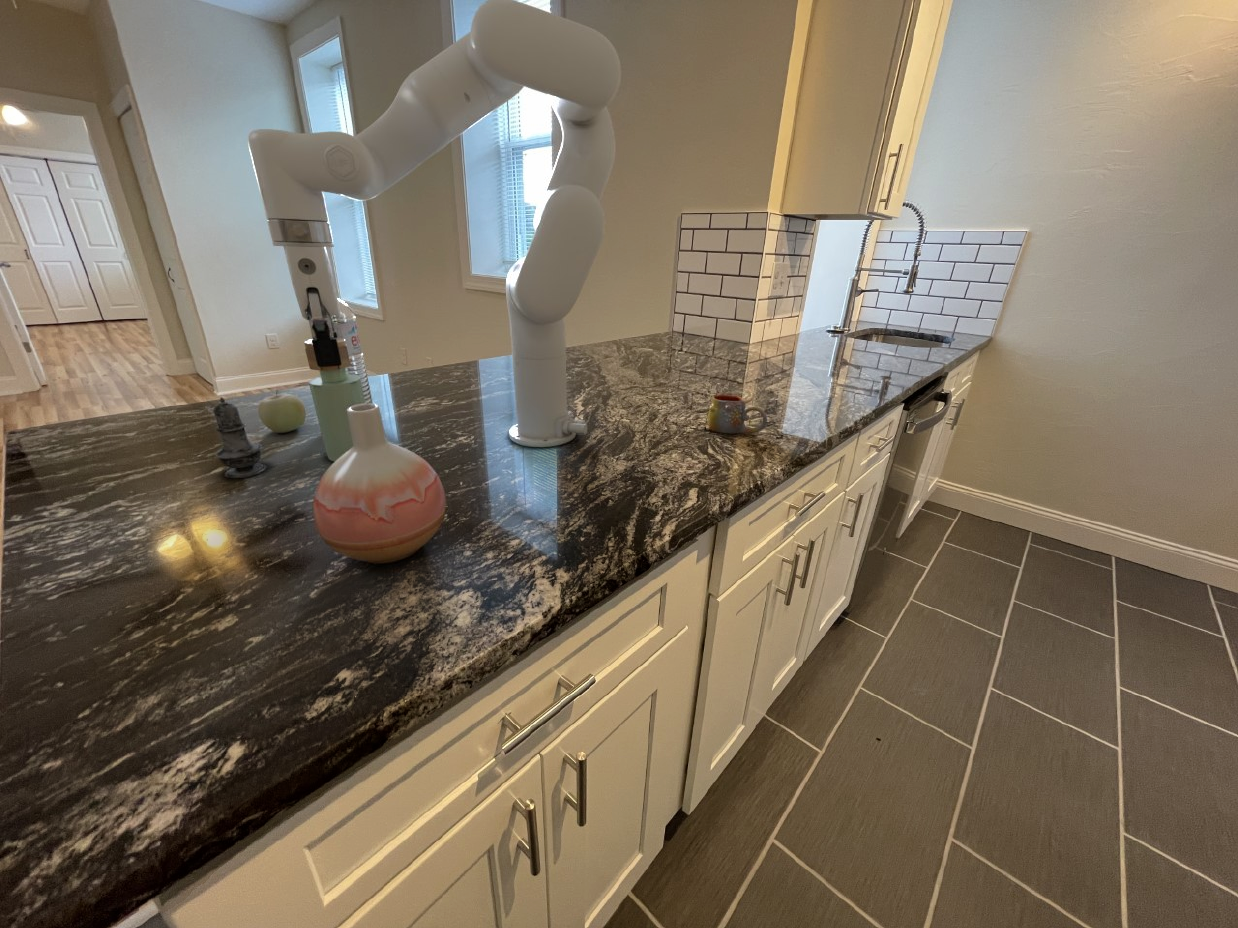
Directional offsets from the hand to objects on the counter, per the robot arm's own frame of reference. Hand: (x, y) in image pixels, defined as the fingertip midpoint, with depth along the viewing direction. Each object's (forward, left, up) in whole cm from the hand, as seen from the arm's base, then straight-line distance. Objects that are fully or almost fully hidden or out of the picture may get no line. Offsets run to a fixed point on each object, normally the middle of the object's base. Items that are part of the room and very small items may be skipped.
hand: (330, 360), depth 76 cm
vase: (-26, +21, -16) cm, 37 cm away
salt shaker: (+10, +11, -16) cm, 22 cm away
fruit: (+20, -5, -16) cm, 26 cm away
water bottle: (+13, -15, -16) cm, 26 cm away
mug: (-62, -34, -16) cm, 73 cm away
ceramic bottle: (0, 0, -16) cm, 16 cm away
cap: (0, 0, -1) cm, 1 cm away
